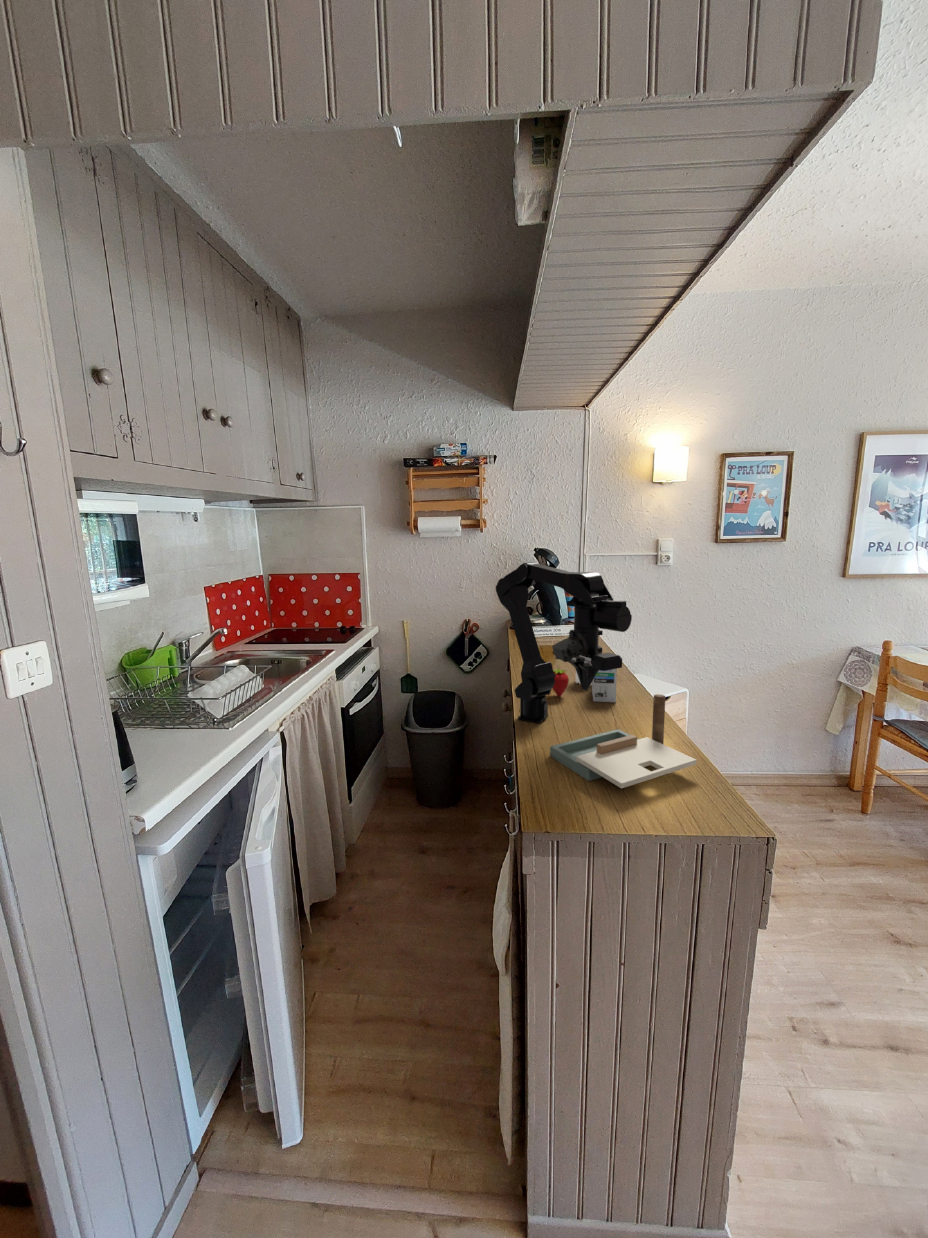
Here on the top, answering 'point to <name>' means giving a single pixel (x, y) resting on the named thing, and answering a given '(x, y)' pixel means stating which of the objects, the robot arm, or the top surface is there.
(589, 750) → the teal box base
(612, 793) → the top surface
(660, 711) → the brown wooden peg
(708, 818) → the top surface
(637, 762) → the lid
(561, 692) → the strawberry
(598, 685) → the light bulb box
